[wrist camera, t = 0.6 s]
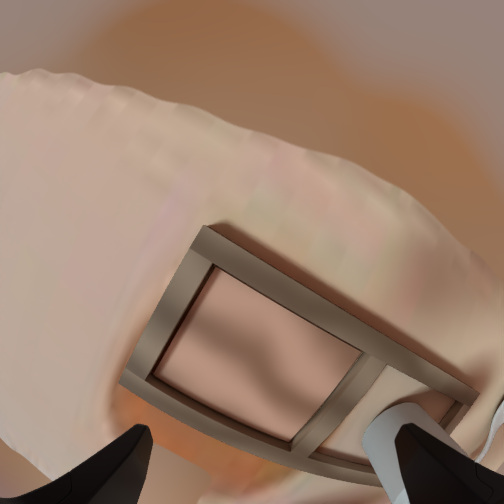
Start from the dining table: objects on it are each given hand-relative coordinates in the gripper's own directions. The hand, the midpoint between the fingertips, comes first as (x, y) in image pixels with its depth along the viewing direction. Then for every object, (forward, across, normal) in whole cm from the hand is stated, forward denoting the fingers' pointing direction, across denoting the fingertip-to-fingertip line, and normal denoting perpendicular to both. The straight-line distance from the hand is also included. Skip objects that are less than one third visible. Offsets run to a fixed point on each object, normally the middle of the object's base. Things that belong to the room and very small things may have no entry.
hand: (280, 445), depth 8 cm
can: (+12, -14, +15) cm, 24 cm away
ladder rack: (+13, -7, +10) cm, 18 cm away
